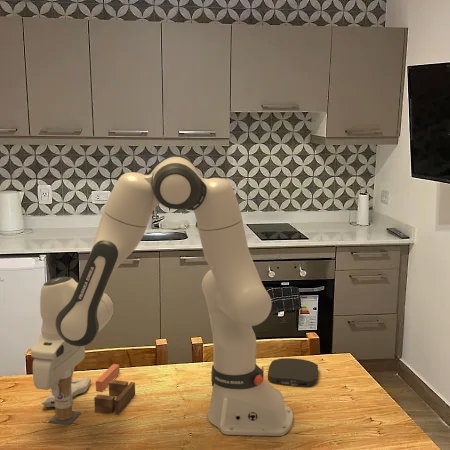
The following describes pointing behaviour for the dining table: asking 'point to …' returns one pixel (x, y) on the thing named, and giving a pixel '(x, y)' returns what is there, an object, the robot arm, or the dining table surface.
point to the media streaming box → (293, 372)
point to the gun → (76, 387)
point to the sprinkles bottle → (64, 398)
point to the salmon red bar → (107, 377)
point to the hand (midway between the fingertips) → (62, 389)
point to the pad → (66, 422)
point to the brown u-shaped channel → (115, 390)
